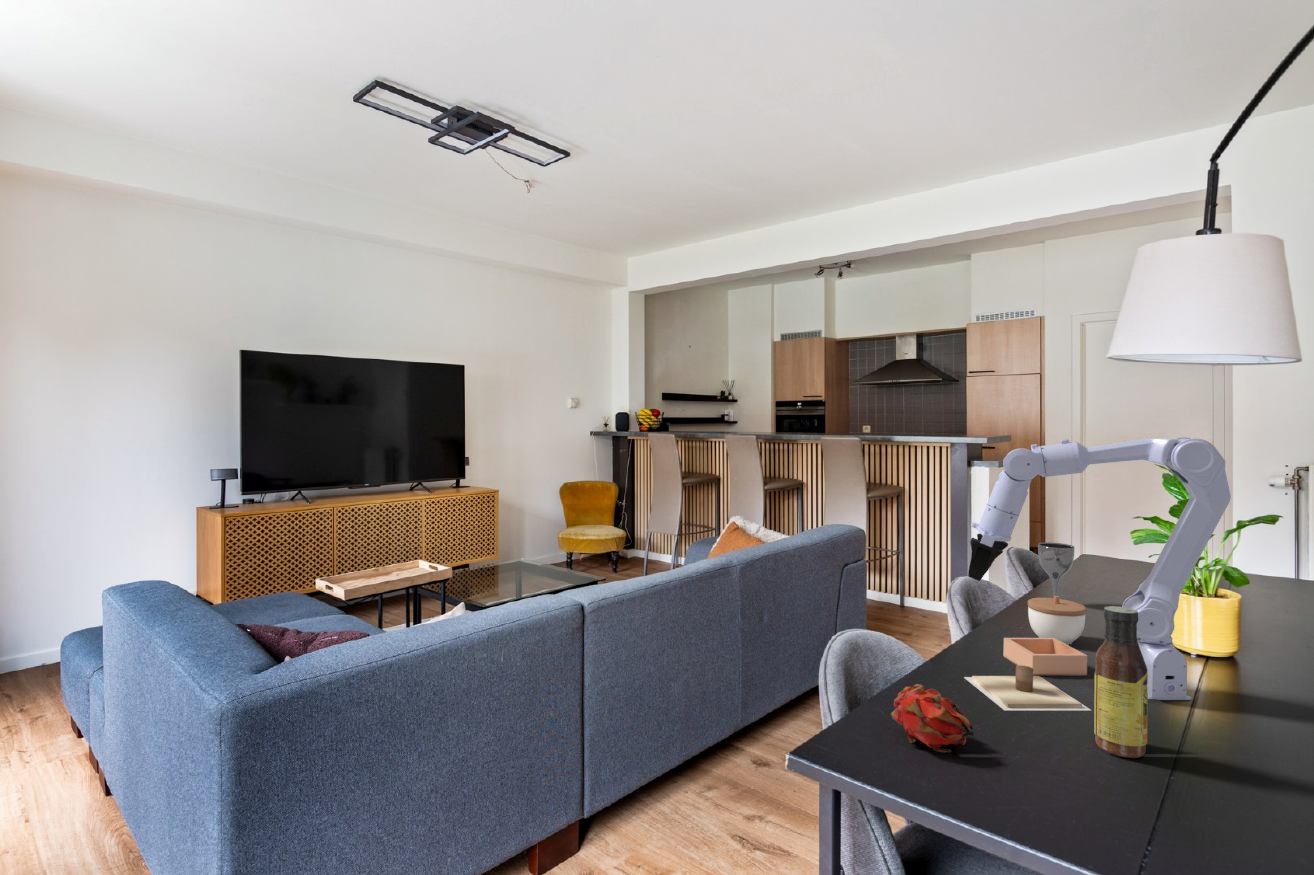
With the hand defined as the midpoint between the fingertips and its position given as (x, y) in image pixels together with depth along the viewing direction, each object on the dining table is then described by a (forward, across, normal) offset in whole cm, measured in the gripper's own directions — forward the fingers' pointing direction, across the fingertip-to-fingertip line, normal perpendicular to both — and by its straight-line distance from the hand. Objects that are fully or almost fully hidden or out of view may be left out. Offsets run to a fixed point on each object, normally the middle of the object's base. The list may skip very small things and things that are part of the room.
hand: (976, 575), depth 132 cm
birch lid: (+13, +13, +14) cm, 23 cm away
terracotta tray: (+12, -4, +16) cm, 21 cm away
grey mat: (+13, +13, +14) cm, 23 cm away
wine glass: (+11, -58, +16) cm, 61 cm away
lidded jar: (+12, -24, +17) cm, 32 cm away
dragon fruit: (+17, +39, +5) cm, 43 cm away
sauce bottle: (+10, +27, +26) cm, 39 cm away
